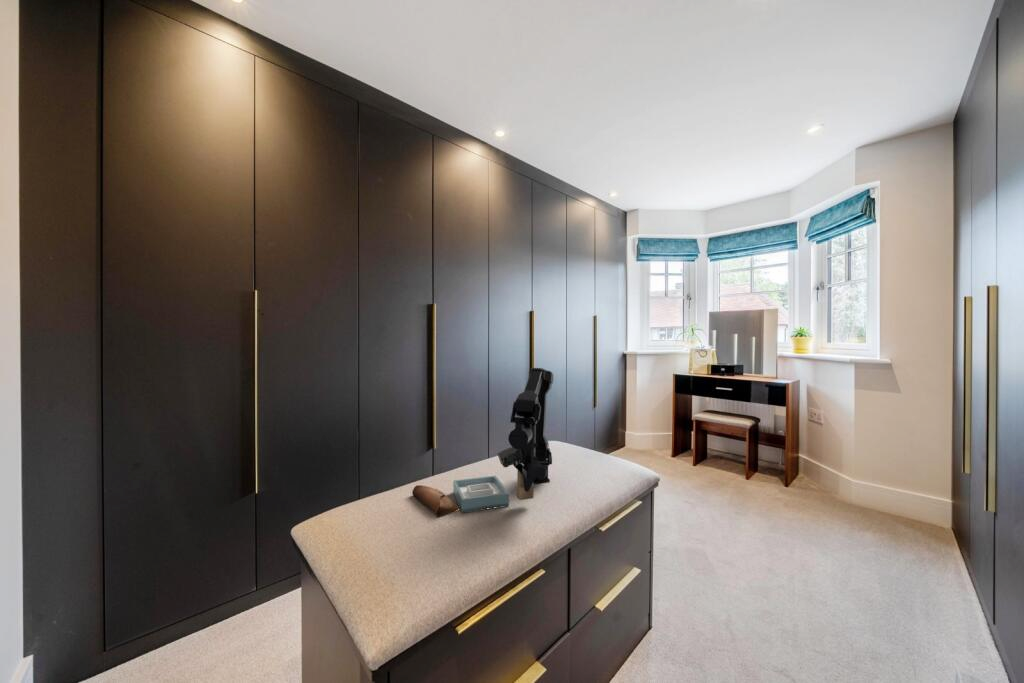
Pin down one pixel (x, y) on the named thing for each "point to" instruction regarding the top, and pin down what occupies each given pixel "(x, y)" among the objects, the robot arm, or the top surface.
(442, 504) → the sunglasses case
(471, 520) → the top surface
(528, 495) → the brown wooden block
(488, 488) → the candle dish
